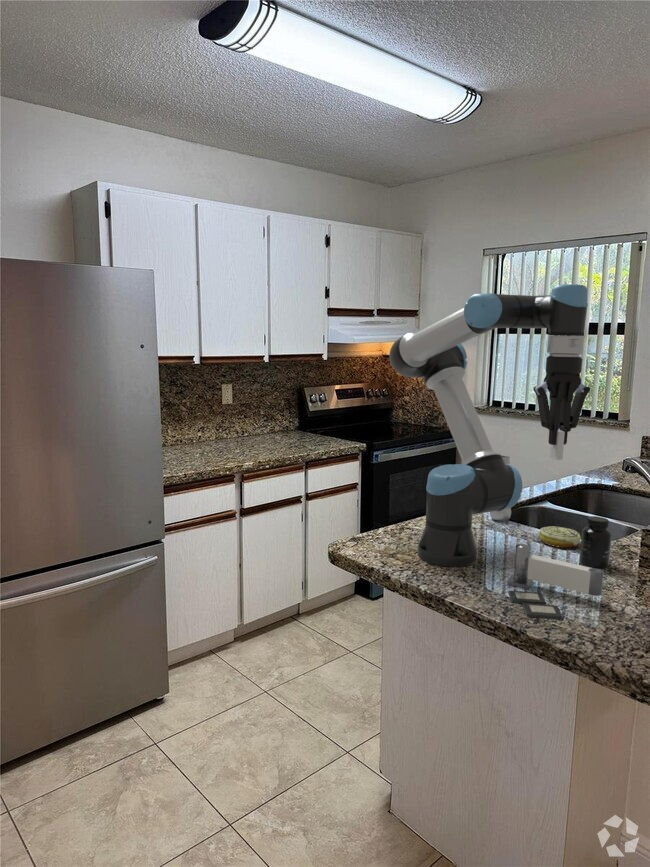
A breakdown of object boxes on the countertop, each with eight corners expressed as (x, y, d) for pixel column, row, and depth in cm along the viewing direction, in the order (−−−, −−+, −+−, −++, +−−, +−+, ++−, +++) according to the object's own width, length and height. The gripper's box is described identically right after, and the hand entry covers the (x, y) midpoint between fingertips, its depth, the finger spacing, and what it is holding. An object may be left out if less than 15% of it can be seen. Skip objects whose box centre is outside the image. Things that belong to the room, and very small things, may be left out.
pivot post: (506, 584, 139) (509, 547, 138) (511, 577, 144) (513, 540, 142) (529, 589, 137) (531, 551, 136) (533, 581, 141) (535, 544, 140)
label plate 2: (526, 616, 124) (527, 613, 124) (522, 605, 129) (522, 602, 129) (562, 619, 123) (562, 615, 123) (557, 608, 128) (557, 605, 128)
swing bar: (527, 579, 138) (528, 558, 137) (531, 574, 140) (532, 554, 139) (599, 597, 129) (601, 574, 128) (603, 592, 131) (605, 570, 130)
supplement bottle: (611, 571, 148) (616, 524, 146) (582, 568, 149) (586, 522, 147) (605, 560, 155) (609, 515, 153) (576, 558, 156) (580, 513, 154)
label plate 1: (512, 602, 130) (512, 599, 130) (508, 592, 135) (508, 589, 135) (545, 605, 129) (546, 602, 129) (541, 595, 134) (541, 592, 134)
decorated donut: (584, 550, 162) (586, 537, 162) (543, 548, 164) (544, 535, 163) (573, 537, 173) (574, 525, 172) (535, 535, 174) (536, 523, 173)
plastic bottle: (490, 522, 185) (494, 458, 181) (488, 516, 191) (491, 454, 188) (512, 523, 184) (516, 459, 180) (509, 517, 190) (513, 455, 187)
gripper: (546, 356, 130) (538, 462, 135) (601, 356, 133) (591, 461, 137) (529, 354, 138) (522, 455, 142) (581, 354, 140) (572, 454, 144)
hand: (556, 458), depth 139 cm, fingers closed
